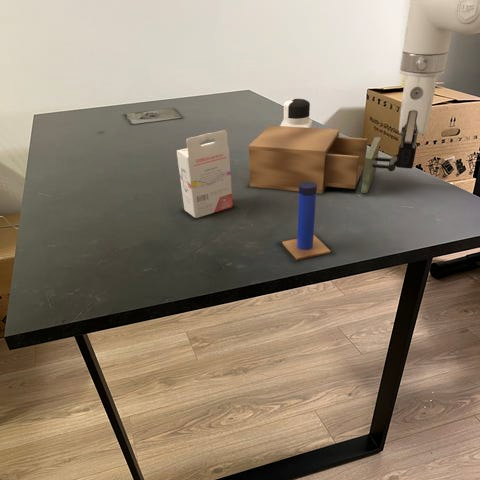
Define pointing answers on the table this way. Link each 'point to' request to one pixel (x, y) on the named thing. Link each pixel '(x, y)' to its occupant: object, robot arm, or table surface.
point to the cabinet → (290, 157)
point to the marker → (306, 215)
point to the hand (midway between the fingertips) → (404, 166)
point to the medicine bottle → (297, 114)
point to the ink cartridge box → (205, 174)
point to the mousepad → (153, 116)
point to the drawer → (353, 162)
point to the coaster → (302, 254)
